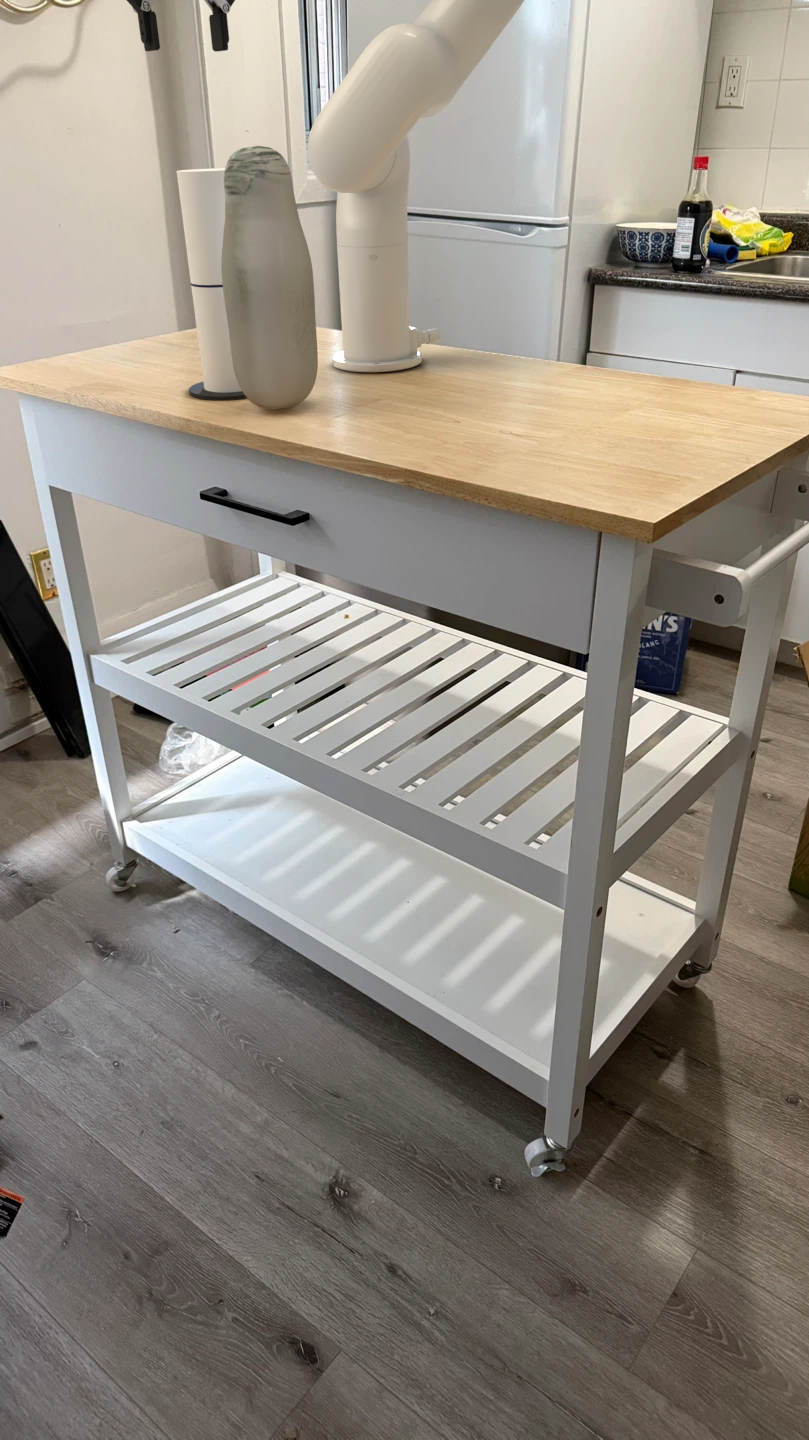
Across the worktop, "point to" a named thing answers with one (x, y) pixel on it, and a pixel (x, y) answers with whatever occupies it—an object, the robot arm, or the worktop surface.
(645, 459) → the worktop surface
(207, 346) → the cylindrical container
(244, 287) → the standing stone ornament
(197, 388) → the coaster
